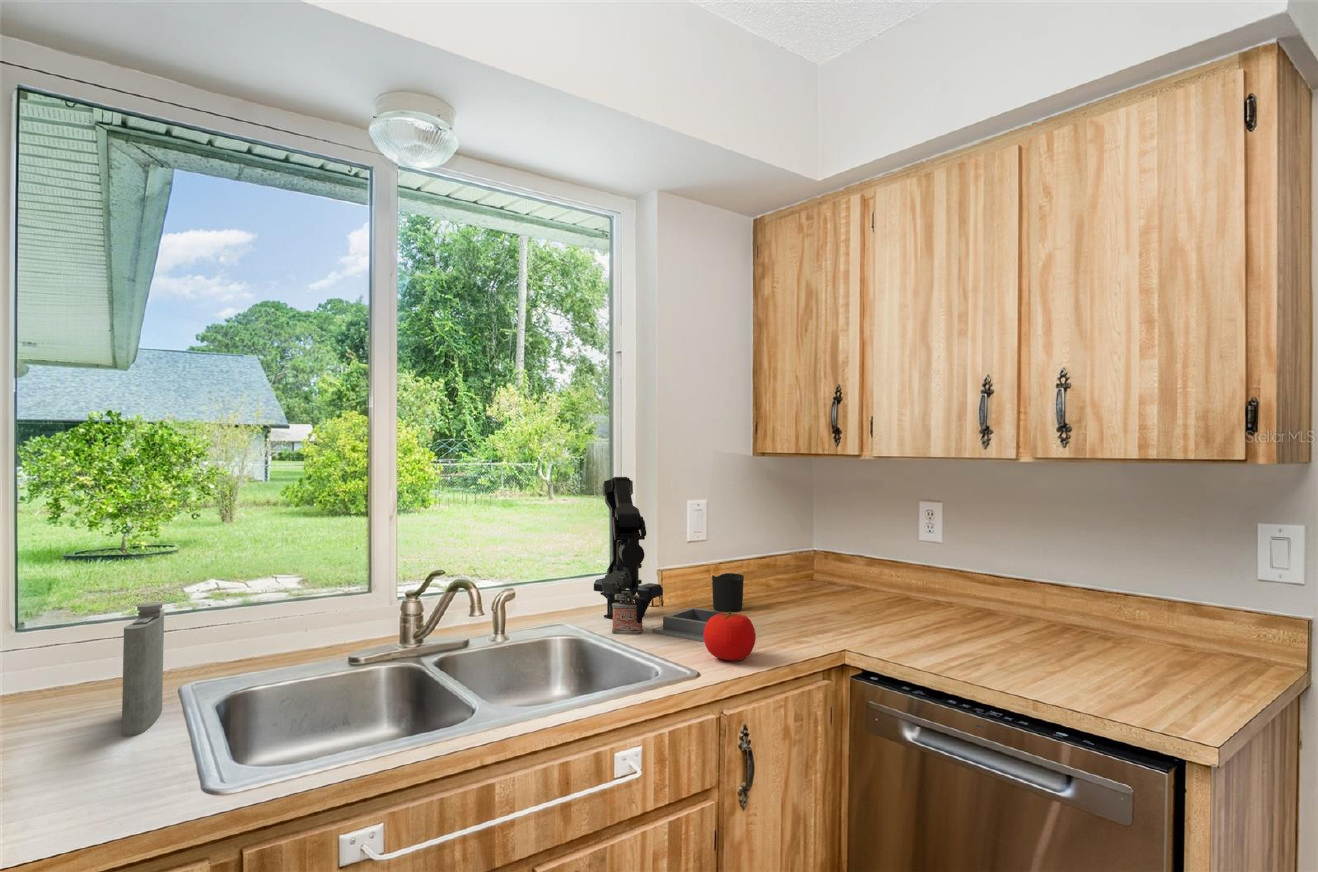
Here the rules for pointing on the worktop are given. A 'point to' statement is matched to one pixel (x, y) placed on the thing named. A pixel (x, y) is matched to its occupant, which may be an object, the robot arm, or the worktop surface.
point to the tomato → (729, 636)
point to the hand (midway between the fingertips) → (627, 621)
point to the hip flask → (143, 670)
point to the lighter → (626, 616)
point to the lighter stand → (686, 623)
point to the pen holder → (728, 592)
